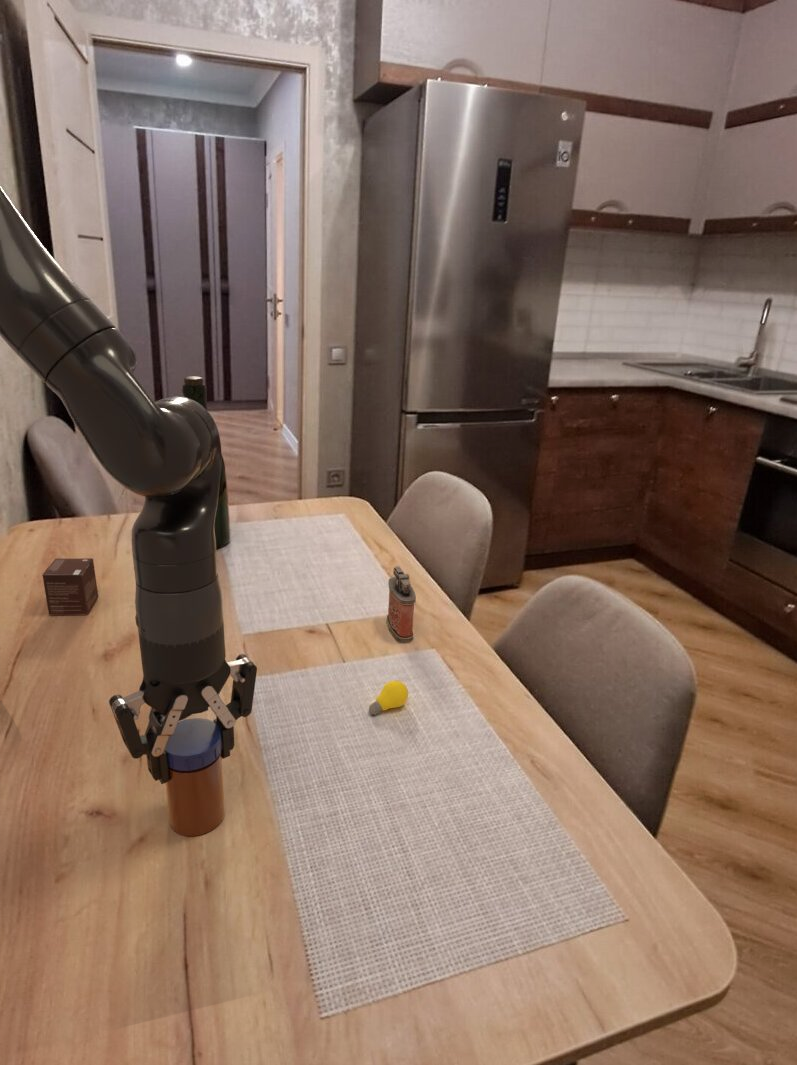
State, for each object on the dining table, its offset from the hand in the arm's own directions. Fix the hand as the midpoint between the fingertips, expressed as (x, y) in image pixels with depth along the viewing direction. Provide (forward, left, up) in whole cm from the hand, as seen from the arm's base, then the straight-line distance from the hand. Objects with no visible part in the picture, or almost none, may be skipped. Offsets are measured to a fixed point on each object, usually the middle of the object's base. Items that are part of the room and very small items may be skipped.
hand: (193, 764), depth 68 cm
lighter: (+22, +39, -7) cm, 45 cm away
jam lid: (0, 0, +3) cm, 3 cm away
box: (-31, +43, -7) cm, 53 cm away
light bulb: (+20, +19, -7) cm, 28 cm away
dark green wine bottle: (-17, +71, -7) cm, 73 cm away
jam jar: (0, 0, -7) cm, 7 cm away
